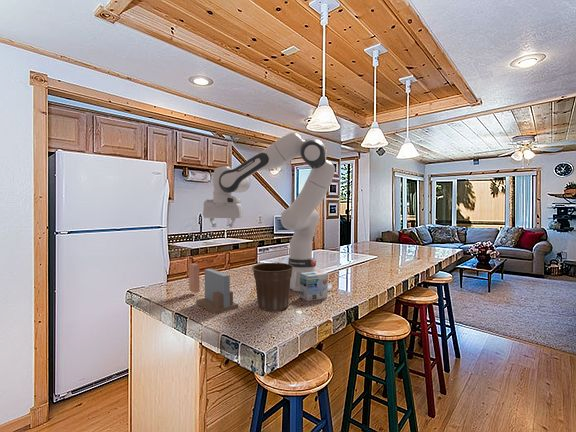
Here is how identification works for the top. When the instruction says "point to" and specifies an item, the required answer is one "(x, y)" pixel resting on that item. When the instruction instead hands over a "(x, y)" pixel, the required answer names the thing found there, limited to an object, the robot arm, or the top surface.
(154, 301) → the top surface
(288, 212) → the robot arm
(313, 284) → the light bulb box
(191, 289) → the stub
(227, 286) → the ticket holder
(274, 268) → the plant pot
